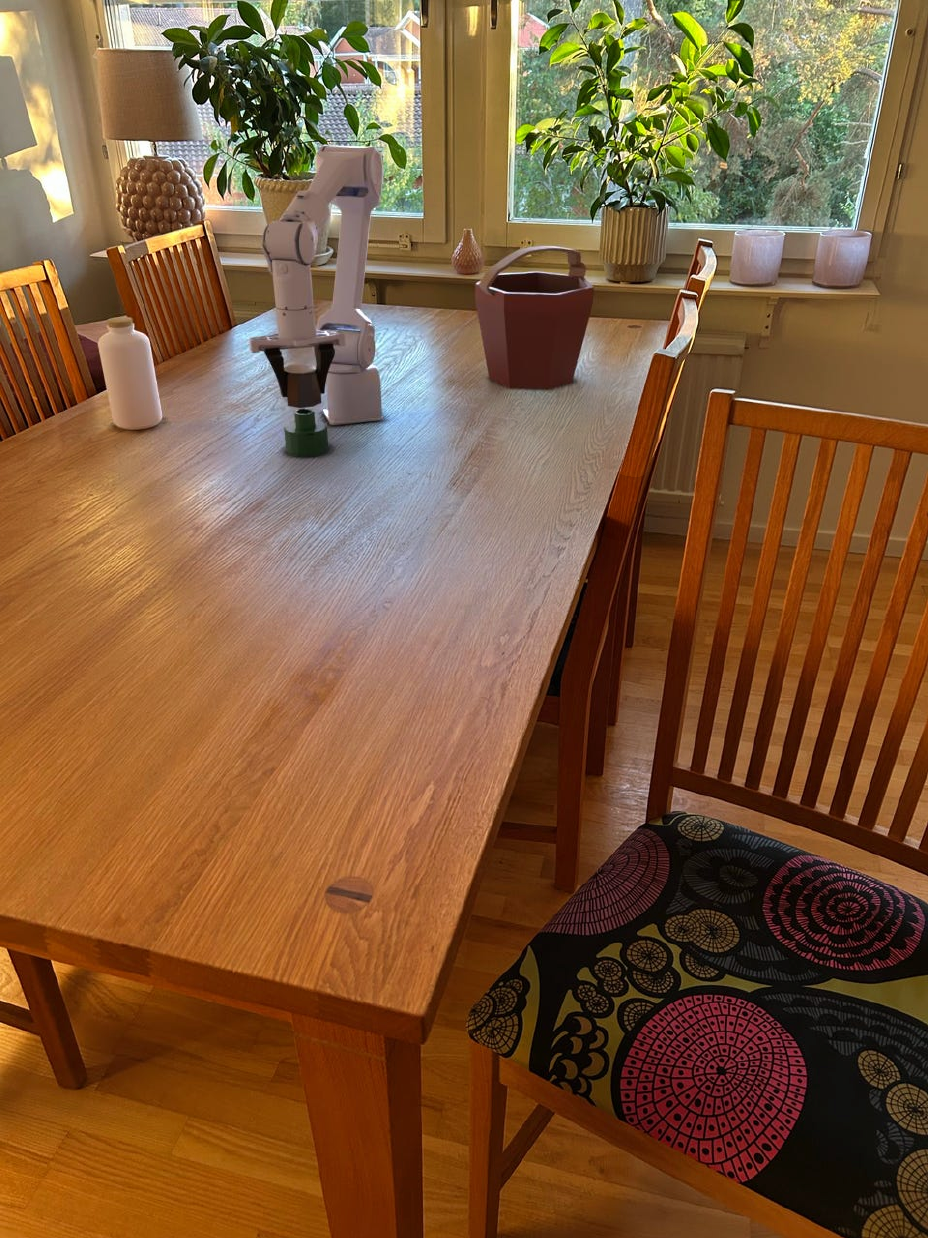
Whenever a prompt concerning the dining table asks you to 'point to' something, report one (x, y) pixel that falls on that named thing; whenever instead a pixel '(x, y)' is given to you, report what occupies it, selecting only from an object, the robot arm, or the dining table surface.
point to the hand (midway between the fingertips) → (302, 393)
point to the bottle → (306, 435)
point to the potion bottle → (129, 375)
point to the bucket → (533, 321)
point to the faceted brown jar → (302, 385)
